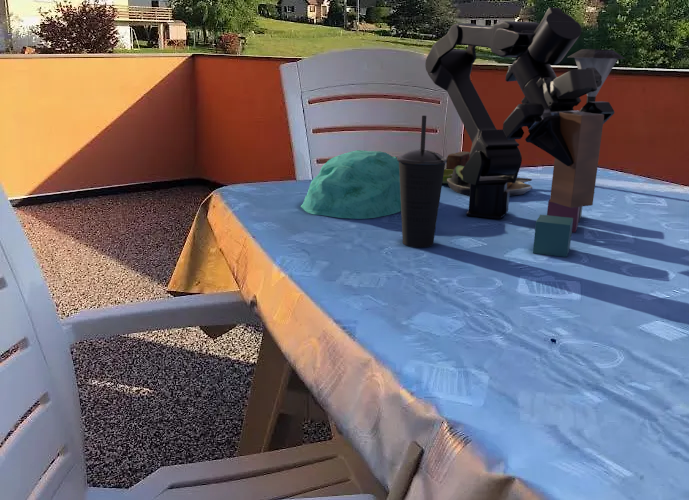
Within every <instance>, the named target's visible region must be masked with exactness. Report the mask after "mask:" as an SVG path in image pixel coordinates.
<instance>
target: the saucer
mask: <svg viewBox="0 0 689 500" xmlns="http://www.w3.org/2000/svg"><path fill="white" fill-rule="evenodd" d="M451 174H453V170H449V169H446V168H444V175H443V181H442V184H447V185H448V183H447V178H452V176H449V175H451Z"/></svg>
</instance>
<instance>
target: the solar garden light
mask: <svg viewBox="0 0 689 500" xmlns="http://www.w3.org/2000/svg"><path fill="white" fill-rule="evenodd" d="M567 58H573V59H574V61H575V64H576V67H577V69H586V68H596V70H597V71H598V72H599V74H600V75H601V76H602V79H601V80H602V84H601V86H600V87H598V88H597V90H596V91H594V92H592V91H591V92H589V93H587V94H586V102H585V104H586V103H587V102H596V100H597V99H596V98H597V95H598V94H599V93H600V90H601V88H602V87H603V85H604V83H605V82H606V80H607V78H608V76H609V75H610V73H611V71H612V70H613V68H614V66H615V65H616V63H617V62H618V60H626V58H625V57H624V56H622V55H621V54H620V53H618V52H616V51H614V50H613V49H592V48H590V49H589V48H586V49H585V48H582V49H580V50H578V51H576V52H574V53H572V54H570V55H568V56H567Z"/></svg>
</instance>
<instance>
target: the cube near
mask: <svg viewBox="0 0 689 500" xmlns="http://www.w3.org/2000/svg"><path fill="white" fill-rule="evenodd" d="M572 224H573V218H568V217H559V216H549V215H547V214H539V216H538V217H537V219H536V221H535V228H534V236H533V237H534V238H533V247H532V249H533V250H532V253H533V254H537V255H546V256H553V257H554V256H555V257H562V258H567V257H568V255H569V252H570V249H571V240H572V234H573V232H572Z"/></svg>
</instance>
